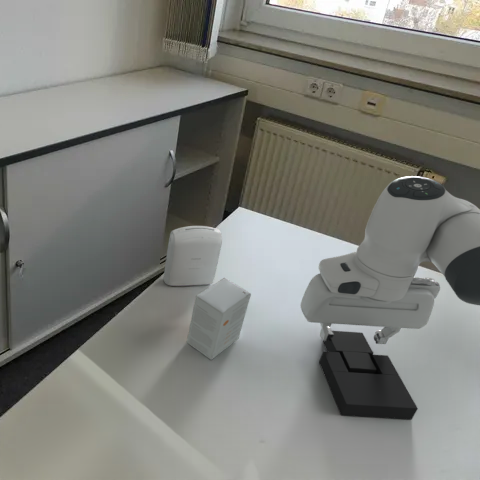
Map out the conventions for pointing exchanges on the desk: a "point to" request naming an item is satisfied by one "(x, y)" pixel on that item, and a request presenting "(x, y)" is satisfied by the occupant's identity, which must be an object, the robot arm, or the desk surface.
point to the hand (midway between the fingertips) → (352, 340)
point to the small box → (217, 317)
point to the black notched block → (368, 389)
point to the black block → (352, 351)
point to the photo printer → (192, 256)
